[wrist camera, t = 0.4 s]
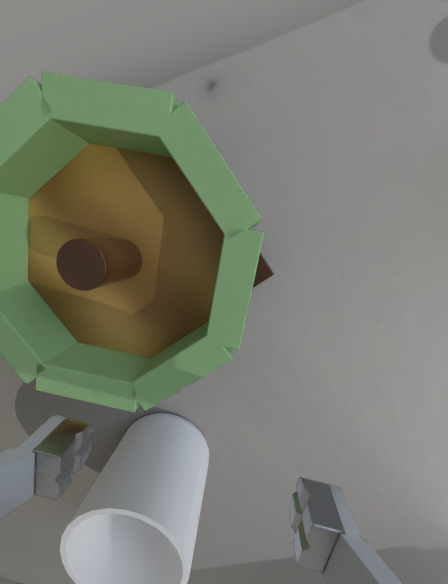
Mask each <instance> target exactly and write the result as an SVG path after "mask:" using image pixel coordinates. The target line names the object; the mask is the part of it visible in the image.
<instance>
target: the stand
mask: <svg viewBox="0 0 448 584" xmlns="http://www.w3.org/2000/svg"><path fill="white" fill-rule="evenodd" d="M223 238H224V234H223V232H222V231H221V229H220V228H219V226H218V225H217V223H216V222H215V220H214V219H213V217H212V216H211V214H210V213H209V211H208V210H207V208H206V207H205V205H204V204H203V202H202V201H201V199H200V198H199V196H198V195H197V193H196V192H195V190H194V189H193V187H192V186H191V184H190V183H189V181H188V180H187V178H186V177H185V175H184V174H183V172H182V171H181V169H180V168H179V166H178V165H177V163H176V162H175V160H174V159H173V158H172V157H166V156H160V155H154V154H149V153H143V152H137V151H131V150H126V149H120V148H114V147H108V146H102V145H97V144H91V143H90V144H89V145H87V146H86V147H85V148H84V149H83V150H82V151H81V152H80V153H79V154H77V155H76V156H75V157H74V158H73V159H72V160H71V161H70V162H69V163H68V164H66V165H65V166H64V167H63V168H62V169H61V170H60V171H59V172H58V173H57V174H55V175H54V176H53V177H52V178H51V179H50V180H49V181H48V182H47V183H45V184H44V185H43V186H42V187H41V188H40V189H39V190H38V191H37V192H36V193H34V194H33V195H32V196H31V197H30V198H29V249H28V281H29V282H30V283H31V285H32V286H33V287H34V288H35V290H36V291H37V292H38V293H39V295H40V296H41V297H42V298H43V300H44V301H45V302H46V303H47V305H48V306H49V307H50V308H51V310H52V311H53V312H54V313H55V315H56V316H57V317H58V318H59V320H60V321H61V322H62V323H63V325H64V326H65V327H66V328H67V330H68V331H69V332H70V333H71V335H72V336H73V337H74V338H75V340H76V341H77V342H78V343H82V344H87V345H92V346H96V347H101V348H106V349H110V350H115V351H120V352H124V353H129V354H134V355H138V356H143V357H148V358H152V357H154V356H155V355H157V354H159V353H160V352H162V351H163V350H165V349H166V348H168V347H169V346H171V345H173V344H174V343H176V342H177V341H179V340H180V339H182V338H183V337H185V336H187V335H188V334H190V333H191V332H193V331H194V330H196V329H197V328H199V327H201V326H202V325H204V324H205V323H207V322H208V321H209V317H210V311H211V305H212V300H213V294H214V288H215V283H216V277H217V272H218V266H219V260H220V255H221V249H222V244H223ZM273 274H274V273H273V272H272V270H271V269H270V267H269V265H268V264H267V262H266V261H265V259H264V258H263V256H262V255H261V253H260V255H259V260H258V265H257V270H256V274H255V279H254V284H253V287H255V286H256V285H258V284H260V283H261V282H263V281H264V280H266V279H267V278H269V277H270V276H272V275H273Z"/></svg>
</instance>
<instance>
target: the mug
mask: <svg viewBox="0 0 448 584" xmlns="http://www.w3.org/2000/svg"><path fill="white" fill-rule="evenodd" d="M208 463H209V449H208V445H207V442H206V440H205V438H204V437H203V435H202V434H201V432H200V431H199V429H198V428H196V427H195V426H194V425H193V424H192V423H191V422H190V421H188V420H186V419H184V418H182V417H181V416H177V415H174V414H170V413H155V414H150V415H146V416H144V417H142V418H140V419H138V420H136V421H135V422H134V423H133V424H132V425H131V426H130V427H129V429H128V430H127V432H126V433H125V435H124V437H123V438H122V440H121V441H120V443H119V445H118V446H117V448H116V449H115V451H114V453H113V454H112V456H111V457H110V459H109V461H108V462H107V464H106V465H105V467H104V469H103V470H102V472H101V473H100V475H99V476H98V478H97V480H96V481H95V483H94V484H93V486H92V488H91V489H90V491H89V492H88V494H87V496H86V497H85V499H84V500H83V502H82V504H81V505H80V507H79V508H78V510H77V512H76V513H75V515H74V516H73V518H72V520H71V521H70V523H69V524H68V526H67V528H66V530H65V531H64V533H63V535H62V538H61V545H60V553H61V558H62V563H63V565H64V567H65V569H66V571H67V573H68V575H69V576H70V577H71V578H72V580H73V581H74V582H75V583H76V584H187V581H188V578H189V574H190V569H191V563H192V557H193V551H194V545H195V539H196V534H197V528H198V522H199V516H200V510H201V504H202V498H203V493H204V487H205V481H206V475H207V469H208Z"/></svg>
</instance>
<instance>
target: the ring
mask: <svg viewBox="0 0 448 584" xmlns="http://www.w3.org/2000/svg"><path fill="white" fill-rule="evenodd" d="M90 143H91V144H97V145H102V146H108V147H114V148H120V149H126V150H131V151H137V152H143V153H149V154H154V155H160V156H166V157H172V158H173V159H174V160H175V162H176V163H177V165H178V166H179V168H180V169H181V171H182V172H183V174H184V175H185V177H186V178H187V180H188V181H189V183H190V184H191V186H192V187H193V189H194V190H195V192H196V193H197V195H198V196H199V198H200V199H201V201H202V202H203V204H204V205H205V207H206V208H207V210H208V211H209V213H210V214H211V216H212V217H213V219H214V220H215V222H216V223H217V225H218V226H219V228H220V229H221V231H222V232H223V234H224V238H223V244H222V249H221V255H220V260H219V266H218V272H217V277H216V283H215V288H214V294H213V300H212V305H211V311H210V317H209V321H208V322H207V323H205V324H204V325H202V326H201V327H199V328H197V329H196V330H194V331H193V332H191V333H190V334H188V335H187V336H185V337H183V338H182V339H180V340H179V341H177V342H176V343H174V344H173V345H171V346H169V347H168V348H166V349H165V350H163V351H162V352H160V353H159V354H157V355H155V356H154V357H152V358H148V357H143V356H138V355H134V354H129V353H124V352H120V351H115V350H110V349H106V348H101V347H96V346H92V345H87V344H82V343H78V342H77V341H76V340H75V338H74V337H73V336H72V335H71V333H70V332H69V331H68V330H67V328H66V327H65V326H64V325H63V323H62V322H61V321H60V320H59V318H58V317H57V316H56V315H55V313H54V312H53V311H52V310H51V308H50V307H49V306H48V305H47V303H46V302H45V301H44V300H43V298H42V297H41V296H40V295H39V293H38V292H37V291H36V290H35V288H34V287H33V286H32V285H31V283H30V282H29V281H28V249H29V198H30V197H31V196H32V195H33V194H34V193H36V192H37V191H38V190H39V189H40V188H41V187H42V186H43V185H44V184H45V183H47V182H48V181H49V180H50V179H51V178H52V177H53V176H54V175H55V174H57V173H58V172H59V171H60V170H61V169H62V168H63V167H64V166H65V165H66V164H68V163H69V162H70V161H71V160H72V159H73V158H74V157H75V156H76V155H77V154H79V153H80V152H81V151H82V150H83V149H84V148H85V147H86V146H87V145H89V144H90ZM260 220H261V217H260V215H259V213H258V212H257V210H256V209H255V207H254V206H253V204H252V203H251V201H250V200H249V198H248V196H247V195H246V193H245V192H244V190H243V189H242V187H241V186H240V184H239V182H238V181H237V179H236V178H235V176H234V175H233V173H232V172H231V170H230V168H229V167H228V165H227V164H226V162H225V161H224V159H223V158H222V156H221V154H220V153H219V151H218V150H217V148H216V147H215V145H214V144H213V142H212V141H211V139H210V137H209V136H208V134H207V133H206V131H205V130H204V128H203V127H202V125H201V123H200V122H199V120H198V119H197V117H196V116H195V114H194V113H193V111H192V109H191V108H190V106H189V105H188V103H187V102H186V101H185V102H184V103H182V104H181V105H179V103H178V101H177V99H176V97H175V95H174V93H172V92H167V91H161V90H155V89H148V88H141V87H136V86H129V85H123V84H117V83H110V82H104V81H98V80H91V79H85V78H78V77H73V76H67V75H60V74H54V73H48V72H42V85H41V84H40V83H38V82H37V81H36V80H35V79H33V78H32V77H30V76H29V77H28V78H27V79H26V80H25V81H24V82H23V83H22V84H21V85H20V86H19V87H18V88H17V89H16V90H15V91H14V92H13V93H12V94H11V96H10V97H9V98H8V99H7V100H6V101H5V102H4V103H3V104H2V105H1V106H0V354H1V355H2V356H3V358H4V359H5V360H6V361H7V362H8V363H9V365H10V366H11V367H12V368H13V369H14V371H15V372H16V373H17V374H18V375H19V376H20V378H21V379H22V380H23V381H24V382H25V383H26V384H28V383H30V382H31V381H33V380H34V379H36V390H37V391H41V392H46V393H50V394H55V395H59V396H64V397H68V398H72V399H77V400H81V401H86V402H90V403H94V404H99V405H103V406H108V407H112V408H116V409H121V410H125V411H130V412H135V411H136V410H137V408H138V407H139V405H141V407H142V408H143V409H144V410H145V411H146V410H148V409H149V408H151V407H153V406H154V405H156V404H158V403H159V402H161V401H163V400H164V399H166V398H168V397H170V396H171V395H173V394H175V393H176V392H178V391H180V390H181V389H183V388H185V387H186V386H188V385H190V384H191V383H193V382H195V381H196V380H198V379H200V378H201V377H203V376H205V375H206V374H208V373H210V372H212V371H213V370H215V369H217V368H218V367H220V366H222V365H223V364H225V363H227V362H228V361H230V360H232V357H233V349H237V350H239V349H240V345H241V340H242V336H243V331H244V326H245V322H246V317H247V312H248V307H249V303H250V298H251V293H252V288H253V284H254V279H255V274H256V270H257V265H258V260H259V255H260V251H261V246H262V241H263V237H264V233H263V232H260V231H255V230H250V229H252V228H253V227H254V226H256V225H257V224H258V223H259V222H260Z"/></svg>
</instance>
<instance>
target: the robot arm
mask: <svg viewBox="0 0 448 584" xmlns="http://www.w3.org/2000/svg"><path fill="white" fill-rule="evenodd" d="M92 433H93V425H91V424H89V423H85V422H82V421H78V420H75V419H71V418H67V417H63V416H60V415H54V416H51V417H50V418H49V419H48V420H47V421H46V422H45V423H44V424H42V425H41V426H40V427H39V428H38V429H37V430H36V431H35V432H34V433H33V434H31V435H30V436H29V437H28V438H27V439H26V440H25V441H24V442H23V443H22V444H20V445H19V446H18V447H17V448H16V447H11V448H9V449H7V450H4V451H2V452H0V519H1V518H3V517H4V516H6V515H7V514H9V513H10V512H12V511H13V510H15V509H16V508H18V507H19V506H20V505H22V504H23V503H25V502H26V501H28V500H29V499H31V498H32V497H34V495H38V496H42V497H47V498H51V499H55V500H59V498H60V497H61V496H62V494H63V493H64V491H65V490H66V489H67V487H68V486H69V485H70V483H71V482H72V474H74V473H75V472H77V471H79V470H80V469H81V468H82V466H83V465H84V464H85V462H86V460H87V458H88V456H89V454H90V450H91V446H92V441H91V439H90V438H89V437H90V435H91V434H92ZM296 487H297V492H295V493H293V495H292V498H291V502H290V521H291V526H292V528H293V530H294V531H295V533H296V535H295V537H294V540H293V542H294V549H295V556H296V562H297V565H298V566H301V567H305V568H308V569H311V570H314V571H317V572H320V573H323V577H324V579H325V580H326V582H327V584H402V583H401V582H400V581H399V579H398V578H397V577H396V576H395V575H394V573H393V572H392V571H391V570H390V569H389V567H388V566H387V565H386V564H385V563H384V561H383V560H382V559H381V558H380V557H379V555H378V554H377V553H376V552H375V551H374V549H373V548H372V547H371V546H370V545H369V543H368V542H367V541H366V540H364V539H361V537H360V534H359V531H358V529H357V526H356V523H355V521H354V518H353V515H352V513H351V510H350V508H349V505H348V502H347V500H346V497H345V494H344V492H343V490H342V488H341V487H338V486H334V485H330V484H326V483H322V482H318V481H314V480H310V479H306V478H301V477H300V478H299V479H298V481H297V483H296ZM0 584H23V583H19V582H16V581H12V580H9V579H5V578H2V577H0Z"/></svg>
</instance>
